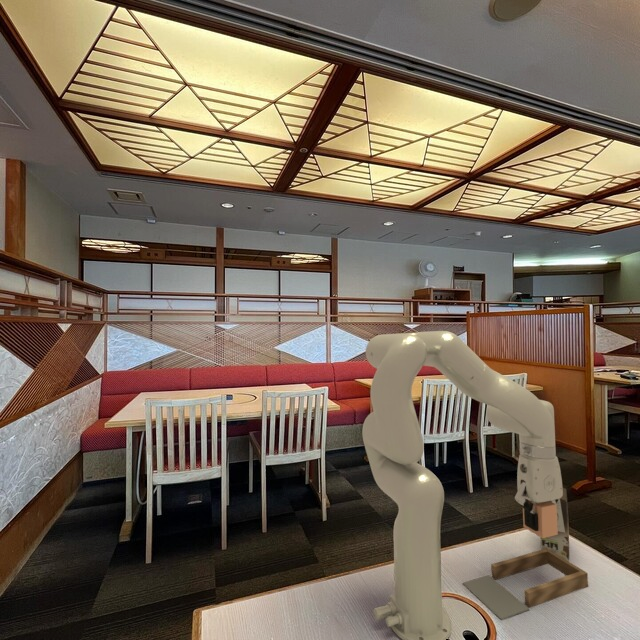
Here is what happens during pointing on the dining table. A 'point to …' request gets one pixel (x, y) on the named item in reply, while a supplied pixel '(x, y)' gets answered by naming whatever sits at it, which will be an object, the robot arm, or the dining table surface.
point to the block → (545, 519)
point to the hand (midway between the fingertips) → (540, 525)
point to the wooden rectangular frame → (550, 589)
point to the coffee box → (559, 531)
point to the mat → (495, 597)
